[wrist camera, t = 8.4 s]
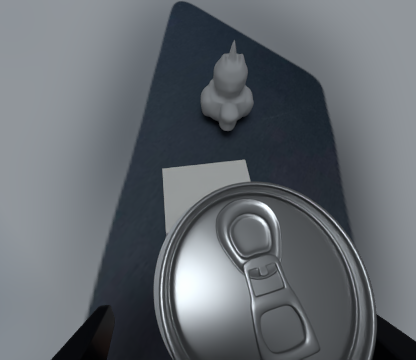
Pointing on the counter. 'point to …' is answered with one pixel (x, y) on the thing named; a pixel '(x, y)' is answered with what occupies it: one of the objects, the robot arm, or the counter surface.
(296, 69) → the counter surface
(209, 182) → the distance mat
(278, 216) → the can
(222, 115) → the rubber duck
